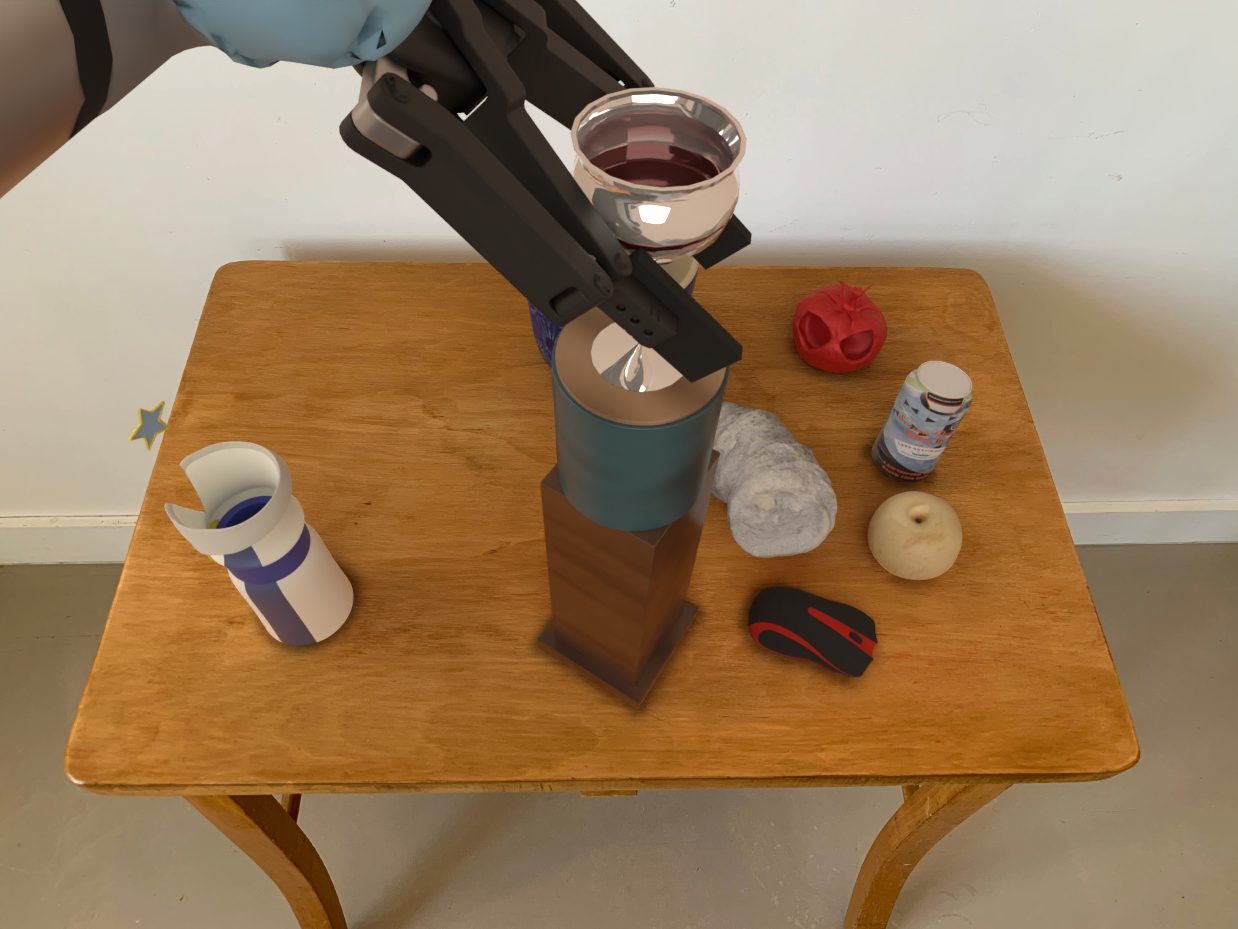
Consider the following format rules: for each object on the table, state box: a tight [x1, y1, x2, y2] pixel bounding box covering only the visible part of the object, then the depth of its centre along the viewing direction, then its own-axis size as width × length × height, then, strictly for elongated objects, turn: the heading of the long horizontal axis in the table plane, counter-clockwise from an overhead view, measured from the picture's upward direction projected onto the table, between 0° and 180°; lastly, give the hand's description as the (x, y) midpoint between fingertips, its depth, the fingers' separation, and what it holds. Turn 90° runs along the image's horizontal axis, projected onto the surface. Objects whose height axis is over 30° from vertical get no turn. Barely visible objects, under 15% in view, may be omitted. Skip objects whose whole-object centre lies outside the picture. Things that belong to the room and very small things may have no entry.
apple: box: [866, 490, 964, 581], centre depth 71 cm, size 8×8×8 cm
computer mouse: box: [747, 585, 879, 679], centre depth 67 cm, size 6×11×4 cm, turn 67°
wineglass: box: [569, 86, 747, 392], centre depth 35 cm, size 7×7×12 cm
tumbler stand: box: [536, 307, 730, 711], centre depth 54 cm, size 10×10×35 cm
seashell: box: [711, 401, 838, 559], centre depth 73 cm, size 16×15×10 cm
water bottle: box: [127, 400, 354, 647], centre depth 58 cm, size 8×9×25 cm
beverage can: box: [871, 360, 973, 483], centre depth 75 cm, size 6×7×12 cm
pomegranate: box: [791, 276, 888, 374], centre depth 84 cm, size 10×10×9 cm
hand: (722, 304), depth 36 cm, fingers closed on wineglass, 7 cm apart
